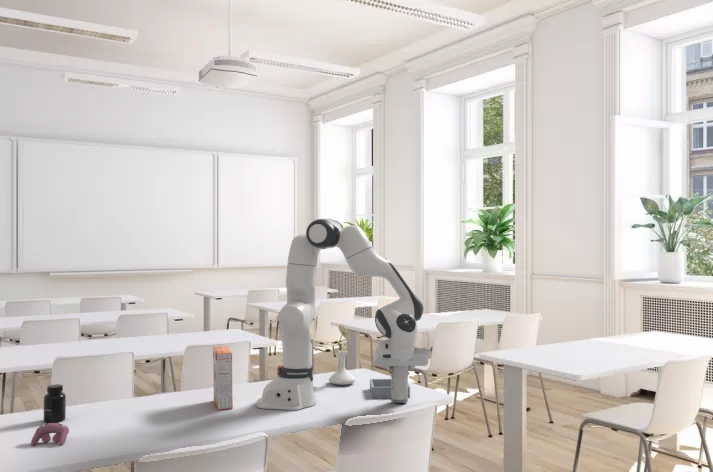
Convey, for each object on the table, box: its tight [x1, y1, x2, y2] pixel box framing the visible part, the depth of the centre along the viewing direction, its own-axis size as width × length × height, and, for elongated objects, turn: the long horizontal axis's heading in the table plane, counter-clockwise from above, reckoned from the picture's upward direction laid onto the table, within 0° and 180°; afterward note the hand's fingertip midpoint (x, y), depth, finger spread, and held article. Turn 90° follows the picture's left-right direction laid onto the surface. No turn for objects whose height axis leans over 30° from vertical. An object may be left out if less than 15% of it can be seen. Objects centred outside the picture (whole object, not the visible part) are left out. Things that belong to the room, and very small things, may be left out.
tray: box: [369, 378, 411, 399], centre depth 250 cm, size 15×14×4 cm
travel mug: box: [390, 366, 409, 404], centre depth 236 cm, size 6×7×20 cm
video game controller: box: [30, 422, 70, 447], centre depth 191 cm, size 10×5×7 cm, turn 92°
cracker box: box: [212, 345, 234, 411], centre depth 233 cm, size 14×6×21 cm, turn 18°
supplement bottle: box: [43, 384, 67, 424], centre depth 213 cm, size 7×7×12 cm
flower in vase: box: [328, 324, 356, 386], centre depth 266 cm, size 13×11×25 cm
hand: (399, 369), depth 236 cm, fingers closed on travel mug, 6 cm apart
